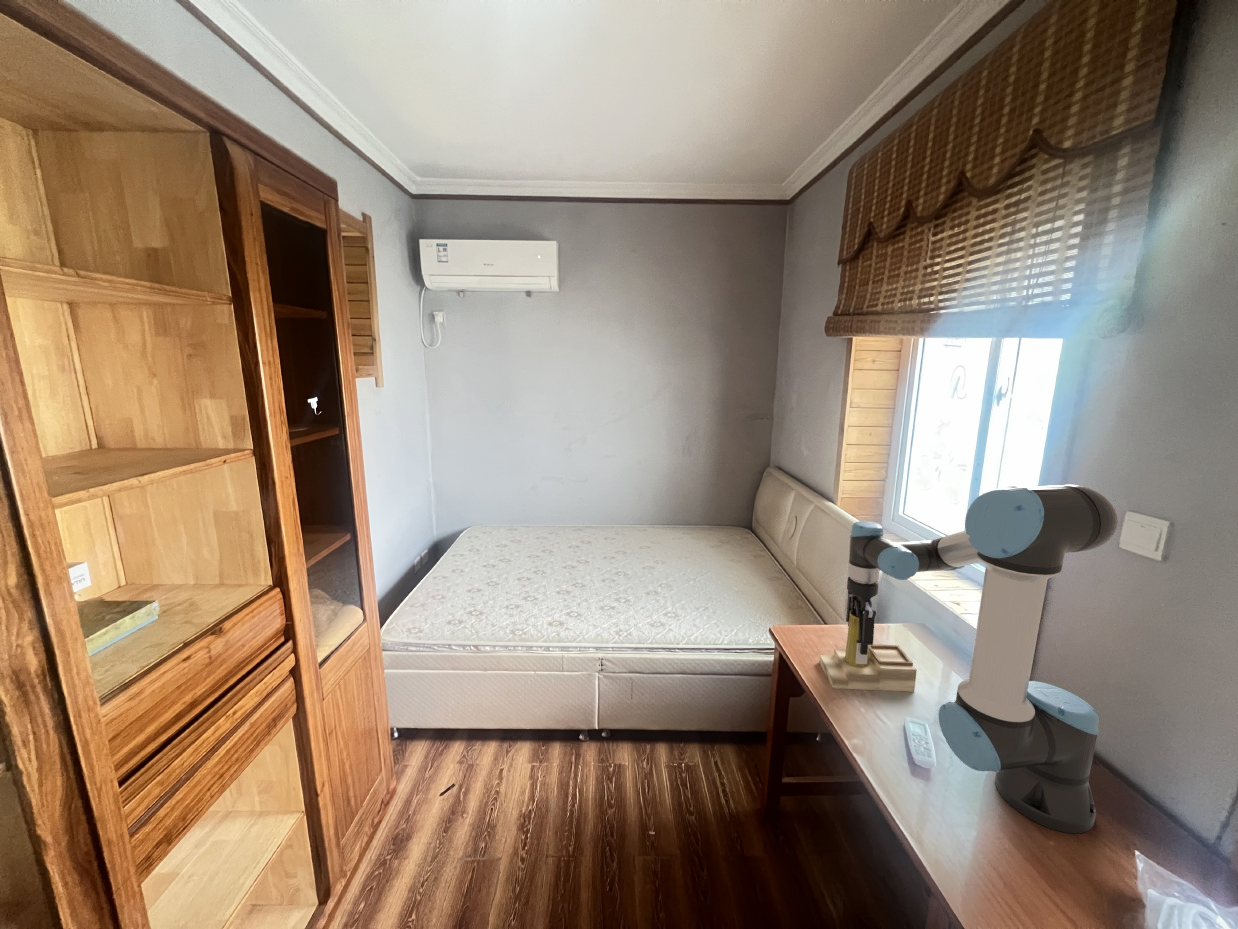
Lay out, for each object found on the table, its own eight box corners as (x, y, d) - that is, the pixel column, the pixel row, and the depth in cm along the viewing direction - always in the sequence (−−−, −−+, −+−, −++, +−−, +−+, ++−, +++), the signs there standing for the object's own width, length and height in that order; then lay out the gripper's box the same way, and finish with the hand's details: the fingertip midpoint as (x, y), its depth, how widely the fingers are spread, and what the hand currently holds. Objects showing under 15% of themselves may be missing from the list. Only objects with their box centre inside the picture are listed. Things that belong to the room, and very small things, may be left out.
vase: (863, 670, 134) (867, 622, 131) (840, 661, 139) (844, 613, 136) (872, 661, 138) (876, 614, 135) (850, 652, 143) (853, 606, 140)
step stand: (914, 691, 132) (916, 666, 131) (832, 688, 134) (834, 663, 133) (894, 665, 144) (896, 642, 142) (819, 662, 146) (820, 639, 144)
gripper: (893, 594, 124) (885, 677, 129) (864, 565, 142) (858, 639, 147) (861, 593, 125) (855, 676, 129) (837, 564, 143) (832, 638, 148)
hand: (856, 656), depth 138 cm, fingers closed on vase, 6 cm apart
